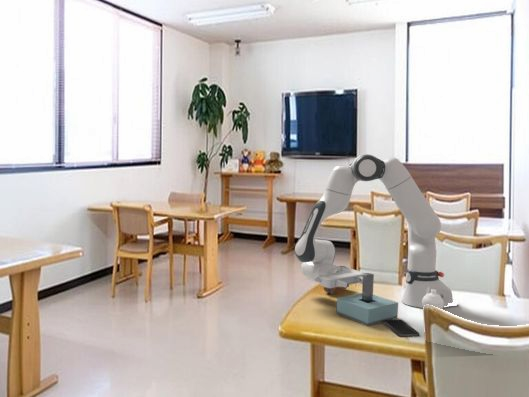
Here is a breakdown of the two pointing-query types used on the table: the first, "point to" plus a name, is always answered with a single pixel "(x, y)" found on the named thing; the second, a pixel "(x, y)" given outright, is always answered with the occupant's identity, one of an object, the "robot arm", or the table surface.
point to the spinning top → (433, 299)
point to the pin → (367, 287)
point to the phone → (400, 328)
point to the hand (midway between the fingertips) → (356, 283)
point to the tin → (334, 289)
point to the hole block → (367, 309)
